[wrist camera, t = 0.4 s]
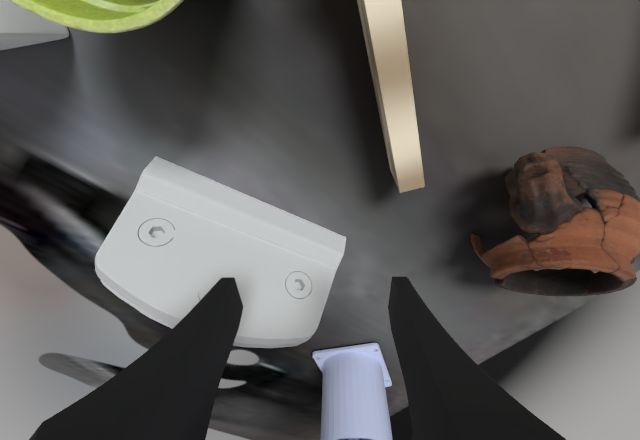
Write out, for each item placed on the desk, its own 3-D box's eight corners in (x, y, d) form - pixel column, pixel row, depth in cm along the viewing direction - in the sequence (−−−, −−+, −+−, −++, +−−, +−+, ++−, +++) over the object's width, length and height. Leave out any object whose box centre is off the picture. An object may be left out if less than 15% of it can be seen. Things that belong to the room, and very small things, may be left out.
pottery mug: (629, 189, 20) (671, 301, 17) (489, 217, 27) (498, 301, 24) (606, 74, 14) (668, 217, 10) (428, 149, 21) (427, 251, 17)
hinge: (350, 239, 23) (331, 367, 17) (327, 260, 27) (304, 372, 21) (150, 153, 20) (38, 276, 14) (154, 191, 24) (66, 302, 17)
